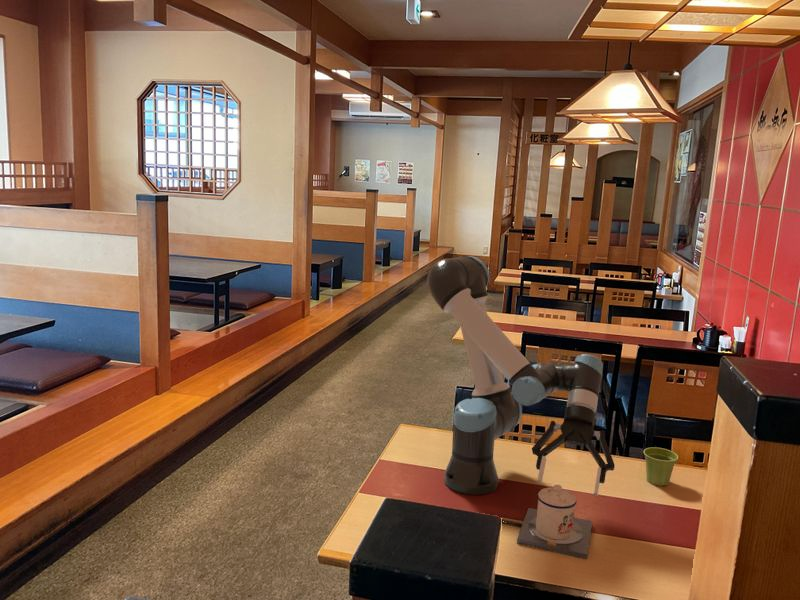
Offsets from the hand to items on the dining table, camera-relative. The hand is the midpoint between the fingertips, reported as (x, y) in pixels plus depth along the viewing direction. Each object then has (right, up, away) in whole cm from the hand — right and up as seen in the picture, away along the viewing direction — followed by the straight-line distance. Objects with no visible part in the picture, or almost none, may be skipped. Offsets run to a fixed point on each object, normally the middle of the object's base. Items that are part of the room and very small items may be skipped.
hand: (567, 488), depth 157 cm
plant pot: (+34, -7, +30) cm, 46 cm away
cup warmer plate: (-6, -11, +1) cm, 12 cm away
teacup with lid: (-3, -10, -1) cm, 10 cm away
